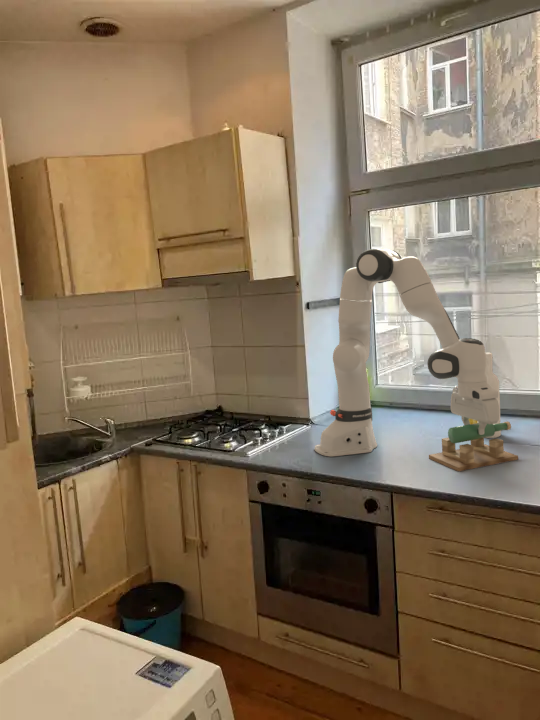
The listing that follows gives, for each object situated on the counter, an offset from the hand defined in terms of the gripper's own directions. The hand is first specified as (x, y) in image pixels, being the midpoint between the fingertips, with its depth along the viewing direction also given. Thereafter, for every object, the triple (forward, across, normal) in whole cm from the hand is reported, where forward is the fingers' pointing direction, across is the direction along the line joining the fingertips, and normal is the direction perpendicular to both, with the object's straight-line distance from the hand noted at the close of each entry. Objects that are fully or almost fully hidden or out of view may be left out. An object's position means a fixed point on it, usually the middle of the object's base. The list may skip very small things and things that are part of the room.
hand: (474, 432), depth 197 cm
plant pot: (+9, -34, +27) cm, 44 cm away
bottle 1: (+2, 0, +2) cm, 3 cm away
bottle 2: (+9, -20, +21) cm, 30 cm away
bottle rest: (+9, 0, -1) cm, 9 cm away
